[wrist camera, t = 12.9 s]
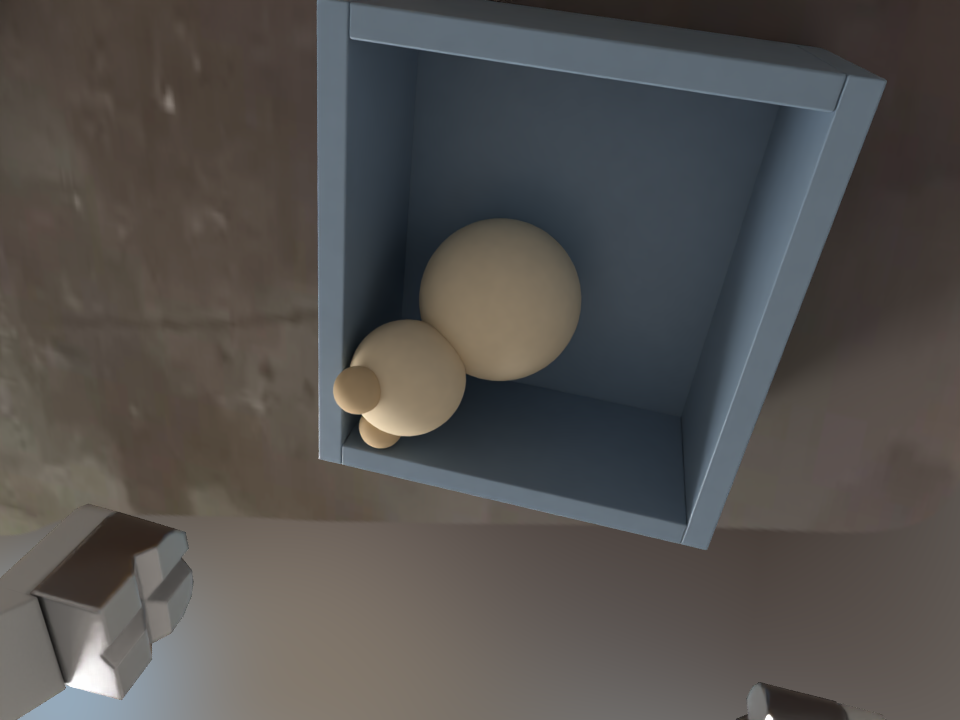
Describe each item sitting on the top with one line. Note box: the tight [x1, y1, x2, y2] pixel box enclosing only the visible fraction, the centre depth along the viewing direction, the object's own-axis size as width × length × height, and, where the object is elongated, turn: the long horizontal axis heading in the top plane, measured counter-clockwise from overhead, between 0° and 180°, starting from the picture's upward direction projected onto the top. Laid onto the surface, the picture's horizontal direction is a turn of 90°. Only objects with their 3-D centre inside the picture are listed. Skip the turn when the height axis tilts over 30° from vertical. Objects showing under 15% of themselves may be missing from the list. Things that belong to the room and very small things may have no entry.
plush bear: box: [333, 218, 581, 448], centre depth 22 cm, size 5×5×9 cm
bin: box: [317, 0, 887, 550], centre depth 22 cm, size 13×14×7 cm
